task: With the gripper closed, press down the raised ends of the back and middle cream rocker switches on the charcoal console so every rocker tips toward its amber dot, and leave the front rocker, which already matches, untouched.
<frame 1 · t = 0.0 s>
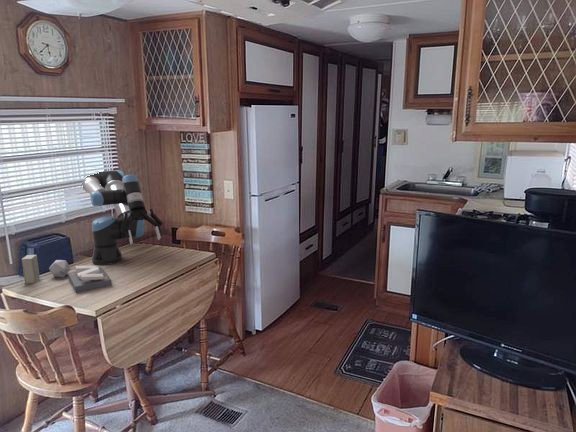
hand: (145, 241, 215), 15 cm above the table, tool tilted 35°, fingers open, 13 cm apart
rocker front: (91, 276, 196), point 5 cm above the table, hinge at -10.0°
rocker back: (86, 268, 208), point 5 cm above the table, hinge at -10.0°
rocker middle: (88, 272, 202), point 5 cm above the table, hinge at 10.0°
die: (61, 276, 212), on the table
switch console: (89, 282, 203), on the table
skincare box: (32, 281, 205), on the table
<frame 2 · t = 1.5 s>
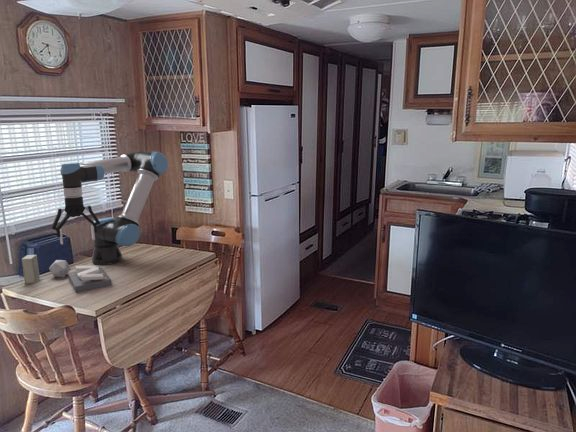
hand: (78, 241, 203), 19 cm above the table, tool pointing down, fingers open, 13 cm apart
nothing on the table moved.
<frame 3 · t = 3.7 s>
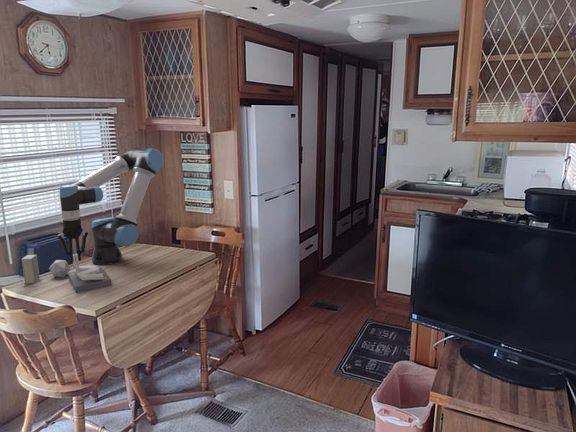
hand: (76, 267, 205), 6 cm above the table, tool pointing down, fingers closed
rocker back: (86, 268, 208), point 5 cm above the table, hinge at -9.6°, touching gripper
everything else where it was.
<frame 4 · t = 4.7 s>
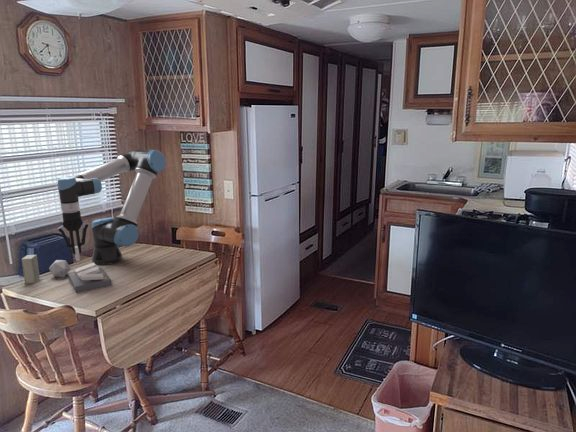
hand: (77, 259, 205), 10 cm above the table, tool pointing down, fingers closed
rocker back: (85, 268, 207), point 5 cm above the table, hinge at 12.0°
everything else where it was.
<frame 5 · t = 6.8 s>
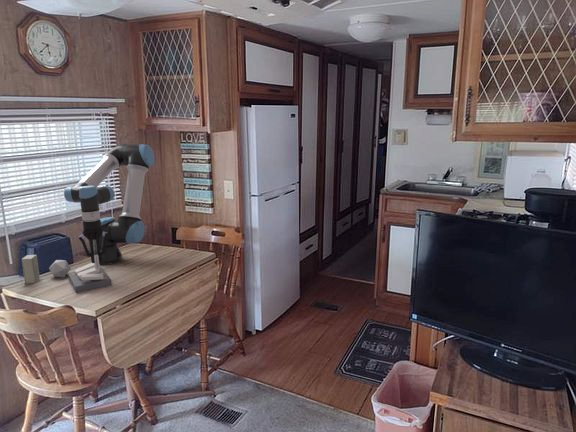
hand: (97, 268, 203), 6 cm above the table, tool pointing down, fingers closed
rocker back: (85, 268, 207), point 5 cm above the table, hinge at 14.0°
rocker middle: (88, 272, 202), point 5 cm above the table, hinge at 9.6°, touching gripper
everything else where it was.
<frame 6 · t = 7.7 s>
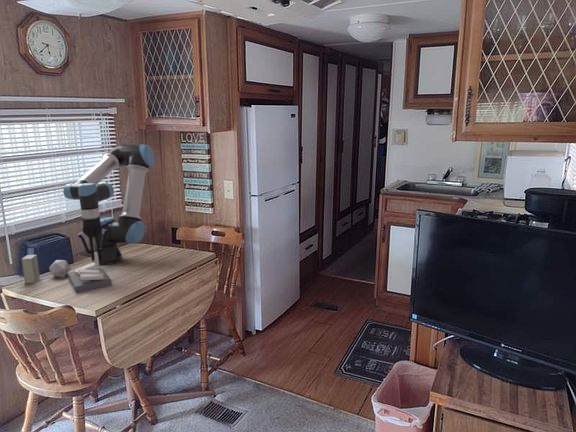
hand: (97, 266, 204), 7 cm above the table, tool pointing down, fingers closed
rocker back: (85, 268, 207), point 5 cm above the table, hinge at 13.6°
rocker middle: (89, 272, 202), point 5 cm above the table, hinge at -14.9°
everything else where it was.
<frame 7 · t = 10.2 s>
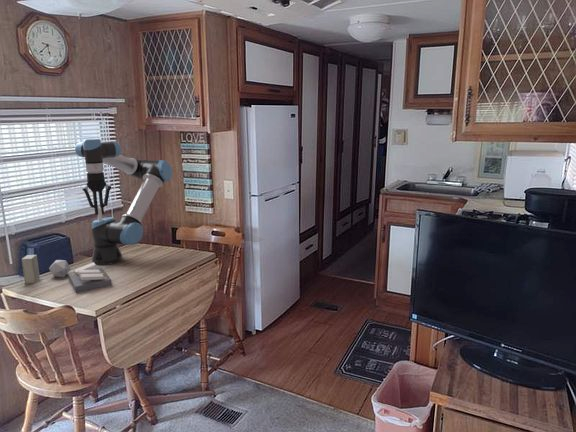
hand: (100, 220, 210), 26 cm above the table, tool pointing down, fingers closed
rocker middle: (89, 272, 202), point 5 cm above the table, hinge at -10.3°
everything else where it was.
at the end: rocker back at +13° (first picture: -10°); rocker middle at -10° (first picture: +10°); rocker front at -10° (first picture: -10°) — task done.
